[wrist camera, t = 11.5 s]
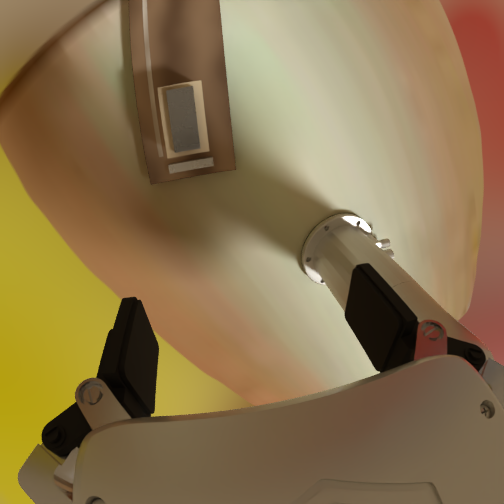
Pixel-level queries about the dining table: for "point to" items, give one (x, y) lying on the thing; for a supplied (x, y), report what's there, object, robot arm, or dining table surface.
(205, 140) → the beige rectangular block
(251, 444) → the robot arm
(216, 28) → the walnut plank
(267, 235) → the dining table surface
